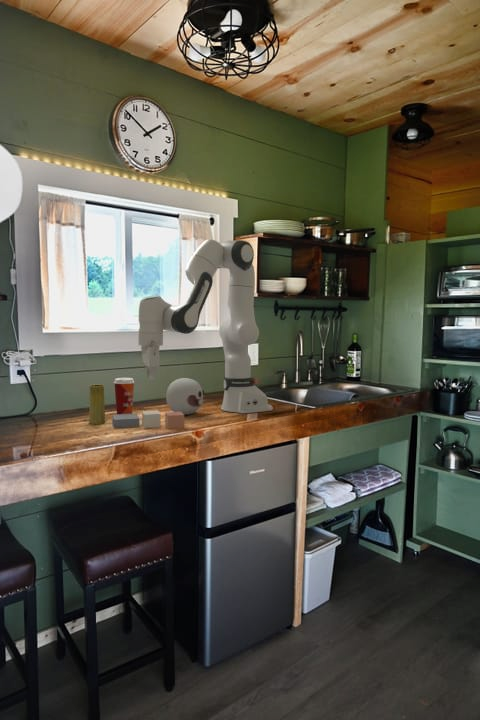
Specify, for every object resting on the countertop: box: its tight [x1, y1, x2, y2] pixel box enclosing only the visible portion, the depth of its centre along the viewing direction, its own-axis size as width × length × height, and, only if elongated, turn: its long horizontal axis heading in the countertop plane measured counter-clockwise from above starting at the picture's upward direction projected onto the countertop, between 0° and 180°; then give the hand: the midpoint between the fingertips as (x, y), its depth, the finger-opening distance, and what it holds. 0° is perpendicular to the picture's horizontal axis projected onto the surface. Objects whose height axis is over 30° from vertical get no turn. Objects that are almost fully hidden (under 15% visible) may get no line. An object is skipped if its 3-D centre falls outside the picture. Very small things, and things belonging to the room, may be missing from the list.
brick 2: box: [164, 411, 185, 430], centre depth 183 cm, size 6×6×5 cm
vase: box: [88, 383, 107, 425], centre depth 187 cm, size 6×6×14 cm
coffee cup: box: [113, 377, 135, 415], centre depth 200 cm, size 8×8×15 cm
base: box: [111, 413, 140, 429], centre depth 185 cm, size 9×9×3 cm
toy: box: [165, 377, 205, 416], centre depth 204 cm, size 15×15×15 cm
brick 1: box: [141, 410, 162, 429], centre depth 184 cm, size 6×6×5 cm
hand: (150, 377), depth 183 cm, fingers open, 8 cm apart
